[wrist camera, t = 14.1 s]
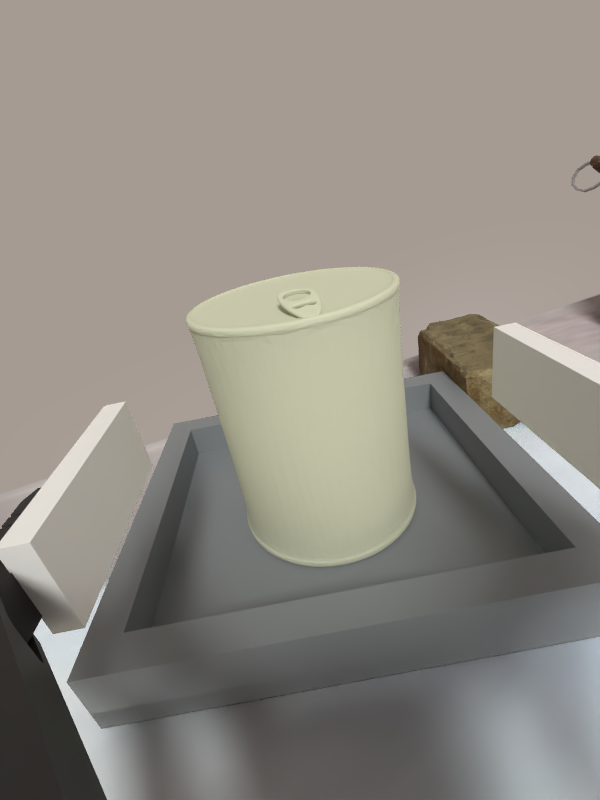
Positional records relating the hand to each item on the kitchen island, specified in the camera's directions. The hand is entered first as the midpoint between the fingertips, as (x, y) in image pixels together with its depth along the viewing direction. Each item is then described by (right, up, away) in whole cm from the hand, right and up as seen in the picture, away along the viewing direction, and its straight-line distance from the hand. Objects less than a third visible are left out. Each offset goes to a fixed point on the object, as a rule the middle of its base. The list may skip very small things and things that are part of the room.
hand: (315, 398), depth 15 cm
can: (+1, -6, +8) cm, 10 cm away
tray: (+1, -6, +9) cm, 11 cm away
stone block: (+13, 0, +18) cm, 22 cm away
